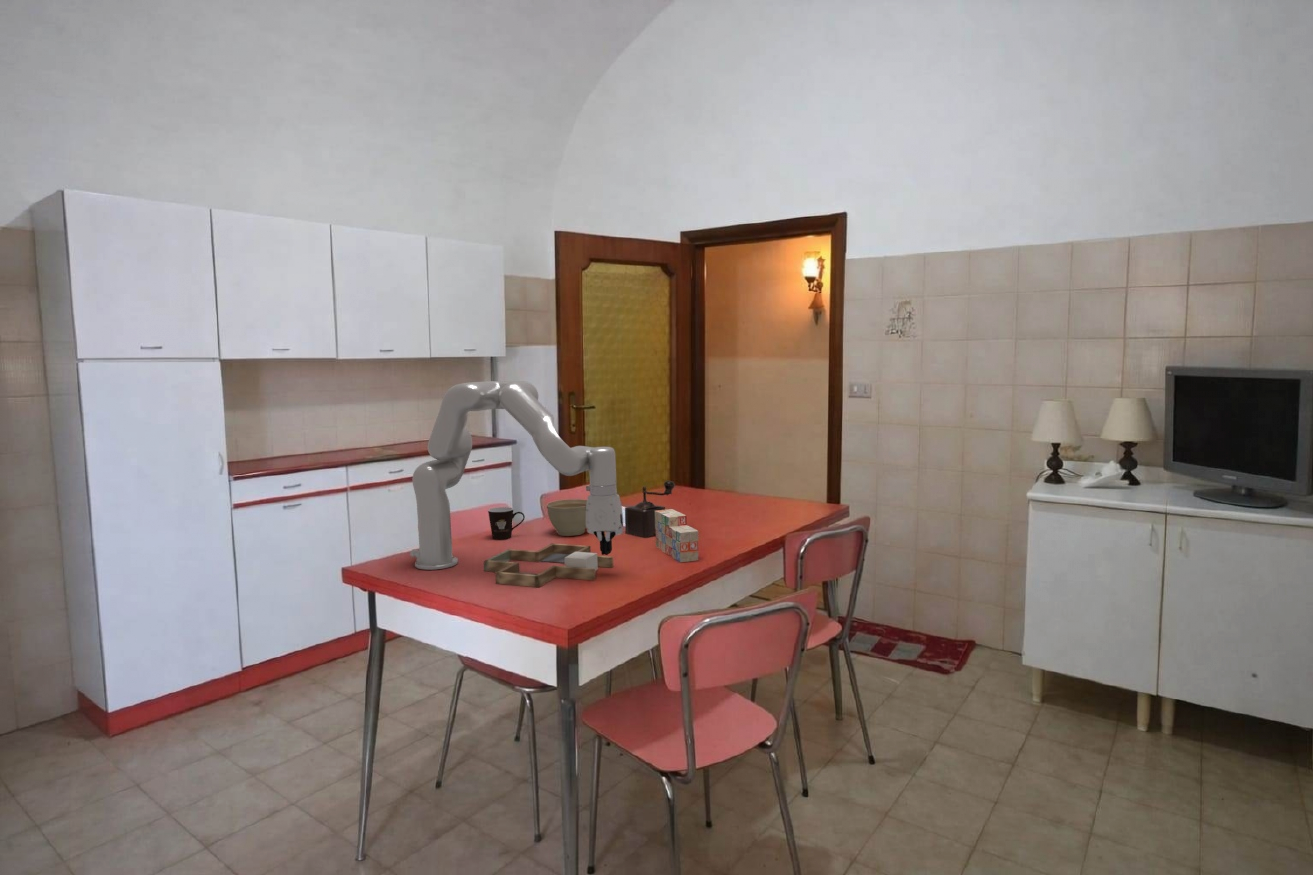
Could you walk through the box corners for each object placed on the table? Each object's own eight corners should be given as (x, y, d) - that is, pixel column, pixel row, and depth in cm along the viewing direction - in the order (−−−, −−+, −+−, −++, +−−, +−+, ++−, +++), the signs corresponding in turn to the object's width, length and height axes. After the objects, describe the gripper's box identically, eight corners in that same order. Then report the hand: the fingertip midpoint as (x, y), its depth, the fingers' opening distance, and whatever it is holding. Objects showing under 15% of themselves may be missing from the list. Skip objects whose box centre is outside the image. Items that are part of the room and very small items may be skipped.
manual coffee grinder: (645, 538, 264) (644, 486, 262) (624, 533, 272) (623, 482, 270) (678, 530, 274) (677, 480, 272) (656, 526, 282) (655, 477, 280)
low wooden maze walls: (465, 580, 218) (464, 570, 218) (524, 550, 250) (524, 541, 250) (578, 590, 207) (578, 579, 206) (625, 558, 239) (625, 548, 239)
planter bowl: (578, 526, 284) (577, 497, 283) (602, 533, 272) (601, 503, 270) (539, 532, 275) (538, 502, 274) (562, 541, 262) (561, 509, 261)
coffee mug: (484, 540, 266) (483, 511, 264) (495, 534, 274) (494, 506, 273) (516, 541, 263) (515, 512, 262) (526, 535, 271) (525, 507, 270)
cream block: (565, 574, 223) (564, 557, 223) (576, 568, 230) (575, 551, 229) (587, 576, 221) (586, 559, 220) (597, 569, 227) (597, 553, 226)
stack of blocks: (699, 560, 235) (698, 520, 233) (679, 563, 232) (679, 522, 231) (673, 545, 255) (672, 508, 253) (655, 547, 252) (654, 509, 251)
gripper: (573, 492, 219) (576, 555, 221) (623, 493, 214) (625, 558, 216) (585, 487, 226) (587, 549, 228) (632, 488, 221) (635, 551, 223)
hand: (606, 553), depth 222 cm, fingers closed
